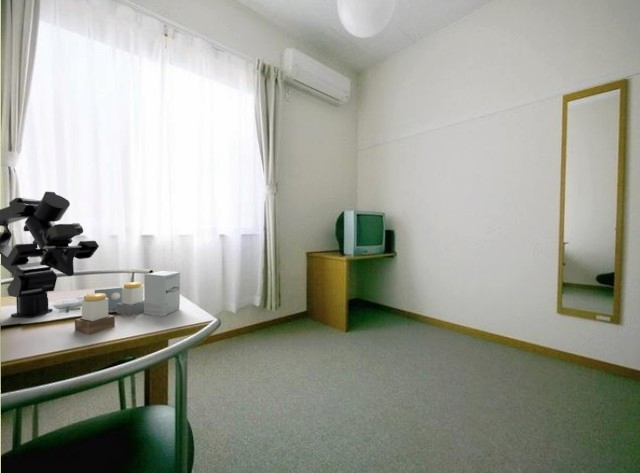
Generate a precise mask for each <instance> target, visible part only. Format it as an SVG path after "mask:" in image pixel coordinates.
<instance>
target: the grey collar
mask: <svg viewBox="0 0 640 473" xmlns="http://www.w3.org/2000/svg"><path fill="white" fill-rule="evenodd" d="M142 313H144V299H143V302H140V303H137V304H133V305H128V304H123V303H122V302H121V303H117V310H116V314H119V315H123V316H127V317H128V316H130V317H132V316H135V315H139V314H142Z"/></svg>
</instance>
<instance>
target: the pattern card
mask: <svg viewBox="0 0 640 473" xmlns="http://www.w3.org/2000/svg"><path fill="white" fill-rule="evenodd" d="M122 287H123V286H119V287H116V286H115V287H107V288H106V287H104V288H97V289H96V288H95V289H94V294H96V293H104V294H106V298H108V312H111V311H110V310H114V311H117V303H121V302H122Z"/></svg>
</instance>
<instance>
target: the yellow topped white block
mask: <svg viewBox="0 0 640 473" xmlns="http://www.w3.org/2000/svg"><path fill="white" fill-rule="evenodd" d="M142 284H143V283H142V282H140V281H133V282H132V281H131V282H126V283H124V284H123V286H121V287H122V303H123V304H128V305H133V304H137V303H140V302H143V300H144V285H142Z"/></svg>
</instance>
